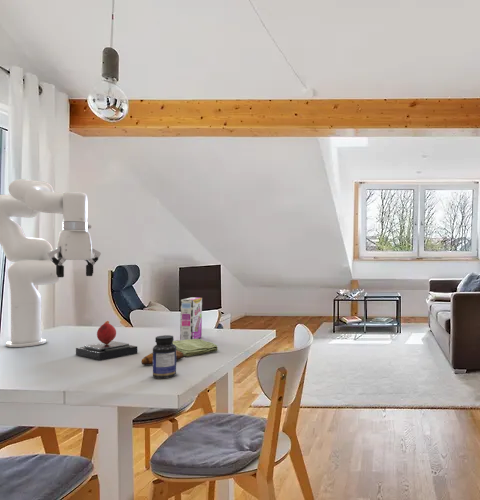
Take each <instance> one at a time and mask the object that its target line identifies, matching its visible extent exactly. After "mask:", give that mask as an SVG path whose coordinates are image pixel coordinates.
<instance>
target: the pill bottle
mask: <svg viewBox="0 0 480 500" xmlns="http://www.w3.org/2000/svg"><path fill="white" fill-rule="evenodd" d="M173 341H175V340H174V335H171V334H167V335H166V334H165V335H158V336H155V343H156V344H155V345H154V346H153V347H152V353H153V364H152V377H153V378H154V379H162V380H163V379H170V378H174V377H175V376H176V375H177V360H176V346H175V345H174V344H173Z"/></svg>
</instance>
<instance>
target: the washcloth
mask: <svg viewBox="0 0 480 500" xmlns="http://www.w3.org/2000/svg"><path fill="white" fill-rule="evenodd" d="M173 344H174V345H175V346H176V350H177V351H180V352H182V353H183V355H184V356H183V357H192V356H198V355H203V354H208V353H213V352H218V350H219V349H218V348H219V347H218V345H217V344H215V343H214V342H212V341H206V340H204V339H201V338H199V339H188V340H180V339H179V340H173Z"/></svg>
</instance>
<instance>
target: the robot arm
mask: <svg viewBox="0 0 480 500" xmlns="http://www.w3.org/2000/svg"><path fill="white" fill-rule="evenodd" d="M8 192H9V194H0V247H1V249H2V251H3V254H4V256H5V258H6V259H7V260H8V261H9V262H12V263H11V264H10V265H9V267H8V269H7V278H8V282H9V288H10V306H11V307H10V341H7V342H6V343H5V347H9V348H25V347H34V346H41V345H43V344H46V343H47V339H46V338H42V294H41V293H40V292H39V290H38V289H37V287H36V286H47V285H54V284H57V283H59V282H60V281H61V279H62V278H64V277H65V265H63V264H64V263H65V262H66V261H77V260H78V261H80V260H81V261H82V260H83V261H85V263H86V265H85V276H86V277H93V274H94V266H95V264H96V263H97V262H98V261H99V258H100V257H101V254H102V253H101V252H100V251H99V250H96V249H94V248H93V247H92V246H93V243H92V236H91V233H90V231H89V229H90V230H91V229H92V225H91V224H89V222H88V219H89V217H88V216H89V215H88V214H89V212H88V211H89V205H88V204H89V202H88V201H89V200H88V199H89V198H88V194H87V193H85V192H83V191H65V192H60V191H55V190H54V187H53V185H51V184H50V183H49V182H47V181H43V180H36V179H27V178H18V179H14V180H12V182H10V183H9V185H8ZM41 213H45V214H59V215H62V230H60V231H59V233H58V239H57V246H56V248H55V249H54V248H53V246H52V244H51V243H50V242H49V241H48V240H47V239H45V238H41V237H28V236H26V234H25V232H24V229H23V228H22V226H21V224H19V223H18V222H17V221H15V220H14V219H12V218H24V219H25V218H26V219H30V218H32V219H33V218H35V217H37V216H38V215H40V214H41ZM93 255H94V256H93Z"/></svg>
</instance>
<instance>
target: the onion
mask: <svg viewBox="0 0 480 500" xmlns="http://www.w3.org/2000/svg"><path fill="white" fill-rule="evenodd" d="M97 329H98V330H97V332H96V337H97V340H98V341H99V342H100V343H104V344H106V345H107V344H109V343H110V342H111V341H114V340H115V338H116V336H117V330H116V328H115V327H114V325H112V324H111V323H110V321H109V320H105V322H104V323H103V324H102V325H100V326H99V328H97Z"/></svg>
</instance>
